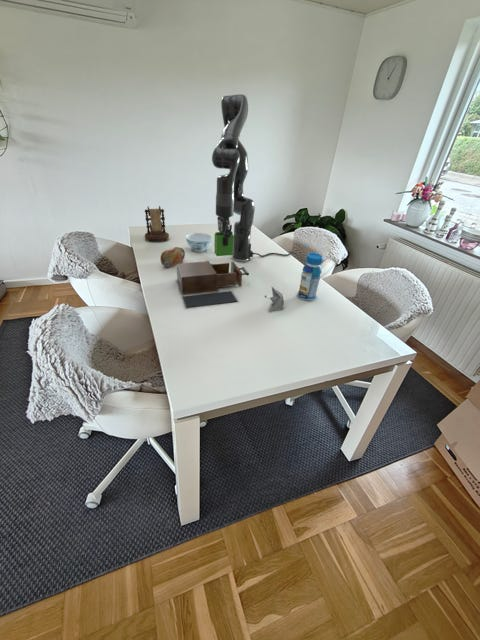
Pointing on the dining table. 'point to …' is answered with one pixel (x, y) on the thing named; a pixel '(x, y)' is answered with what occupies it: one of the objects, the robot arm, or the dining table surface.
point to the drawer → (228, 274)
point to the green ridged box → (219, 247)
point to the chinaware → (198, 241)
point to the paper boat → (276, 300)
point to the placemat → (209, 299)
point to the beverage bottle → (310, 277)
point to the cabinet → (196, 277)
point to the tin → (172, 256)
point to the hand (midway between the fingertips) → (223, 243)
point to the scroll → (155, 225)
